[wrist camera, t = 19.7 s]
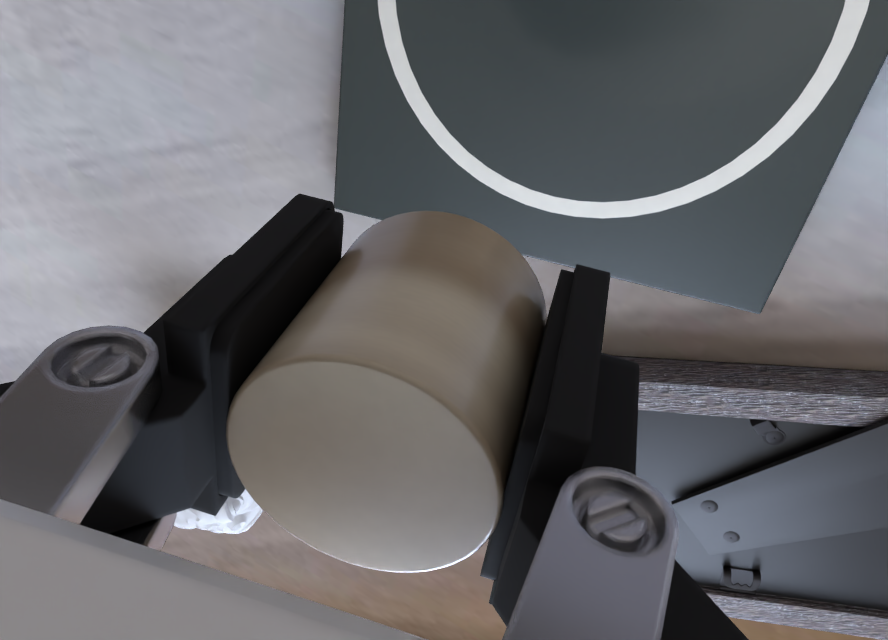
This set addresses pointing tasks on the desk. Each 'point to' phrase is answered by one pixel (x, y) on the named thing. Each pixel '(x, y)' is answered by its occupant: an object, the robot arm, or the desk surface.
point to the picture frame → (774, 487)
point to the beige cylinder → (396, 396)
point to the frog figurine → (223, 516)
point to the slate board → (609, 126)
